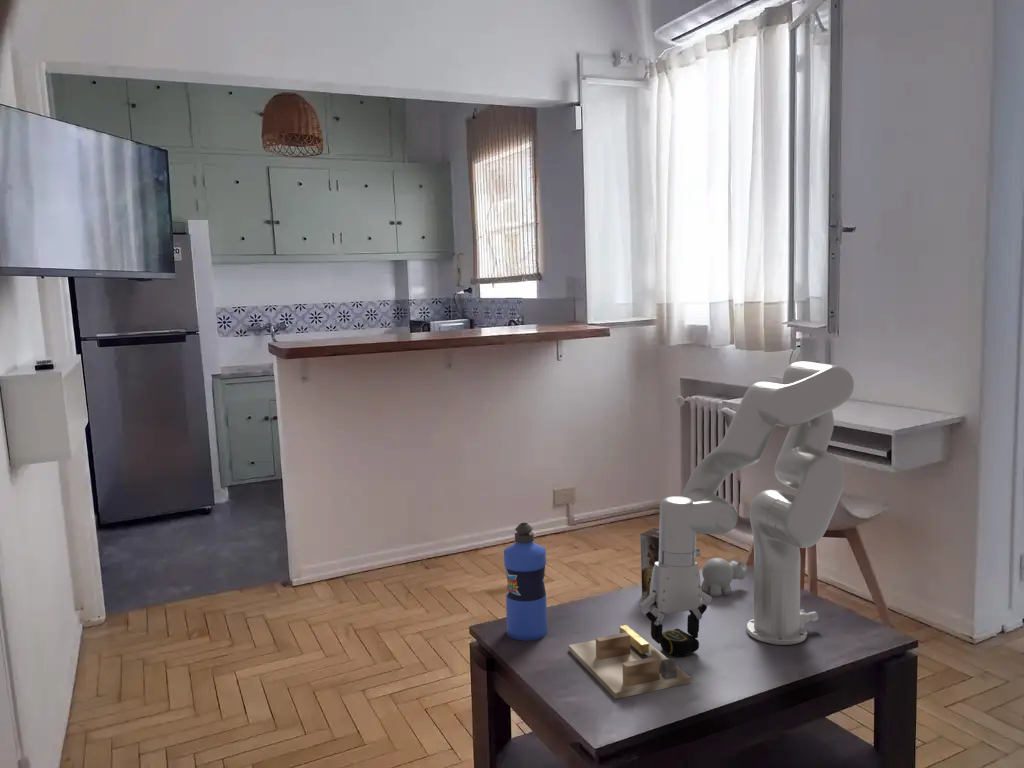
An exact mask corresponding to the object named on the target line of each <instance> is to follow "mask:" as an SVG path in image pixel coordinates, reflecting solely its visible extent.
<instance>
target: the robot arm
mask: <svg viewBox="0 0 1024 768" xmlns="http://www.w3.org/2000/svg"><path fill="white" fill-rule="evenodd" d="M854 386H855V382H854V379H853V376H852V375H851V373H850V372H849V370H847V369H846V368H844V367H842V366H840V365H837V364H829V363H821V362H814V361H795V362H793V363H791V364H789V365H788V366H787V367H786V368H785V370H784V372H783V377H782V383H777V382H770V381H758V382H754V383H753V384H751V385H750V386H749V387H748V388H747V389H746V392H745V393H744V395H743V397H742V398H741V401H740V403H739V405H738V407H737V410H736V411H735V414H734V415H733V417H732V419H731V422H730V424H729V426H728V428H727V430H726V433H725V434H724V437H723V438H722V441H721V442H720V444H718V445H717V446H716V447H715V448H713V450H712V451H711V452H710V453H708V454H707V455H705V457H704V458H703V459H702V460H701V461H700V462H699V463H698V464H697V465H696V466H695V468H694V470H693V471H692V473H691V474H690V477H689V478H688V481H687V482H686V485H685V486H684V489H683V491H682V494H681V496H679V495H678V496H677V495H675V496H673V495H672V496H667V497H665V498H663V499H662V500H661V502H659V503H660V504H659V523H658V524H659V526H658V527H659V528H658V529H659V561H658V562H655V564H654V568H653V572H652V577H651V584H650V595H649V596H648V597H645V599H644V600H642V602H640V603H639V605H638V607H639V609H640V610H641V613H643V615H644V616H645V617H646V618H647V620H649V621H650V637H651V639H652V640H653V641H655V642H656V643H657V644H660V645H661V643H662V634H663V628H664V627H663V624H661V623H662V620H663V619H664V617H665V615H666V614H674V613H682V612H687V611H688V612H689V614H688V615H687V623H686V625H687V630H686V631H687V632H686V633H687V634H689V635H691V636H692V637H694V638H696V639H698V638H699V632H700V620H701V619H702V618H703V614H704V613H705V612H706V611H707V609H708V606H709V605H710V603H711V601H712V599H713V598H712V597H713V596H712V595H709V594H708V593H706V592H703V591H702V590H701V585H702V583H701V582H702V581H701V575H700V568H699V564H698V562H697V557H698V556H700V555H701V550H700V549H699V548H697V535H698V534H704V535H713V536H714V535H716V536H717V535H719V536H720V535H725V534H727V533H730V532H731V531H732V530H733V529H734V528H735V527H736V525H737V524H738V519H739V515H738V511H737V509H736V507H735V506H734V505H733V504H732V503H731V502H730V501H728V500H727V499H725V498H722V497H720V496H718V495H716V494H717V492H718V490H719V488H720V487H721V485H722V484H723V482H725V479H726V478H727V477H729V476H730V475H731V474H733V473H734V472H736V471H738V470H741V469H744V468H747V467H749V466H753V465H754V464H756V463H758V462H759V461H760V460H761V458H762V457H763V454H764V452H765V450H766V448H767V445H768V443H769V441H770V439H771V437H772V435H773V433H774V431H775V429H776V428H777V426H779V427H783V428H789V430H788V432H787V434H786V436H785V439H784V441H783V444H782V447H781V449H780V451H779V453H778V456H777V459H776V462H775V464H774V476H775V478H776V480H777V481H779V482H780V483H781V484H782V485H784V486H786V487H788V488H791V489H792V490H796V494H795V495H793V494H791V493H787V492H785V491H782V490H778V489H766V490H762V491H760V492H758V494H756V496H755V497H754V498H753V500H752V501H751V505H750V509H749V519H750V526H751V532H752V538H753V554H754V555H753V556H754V557H753V558H754V559H753V562H754V563H753V619H750V620H749V621H748V622H747V623H746V632H747V634H748V635H749V636H750V637H752V638H753V639H755V640H758V641H759V642H763V643H767V644H771V645H778V646H779V645H780V646H782V645H783V646H787V645H789V646H790V645H795V644H799V643H802V642H804V641H806V639H807V637H808V629H807V628H806V627H805V625H806V624H807V623H808V622H814V621H818V620H819V615H818V613H817V612H816V611H810V612H806V611H805V609H801V550H800V548H801V549H805V548H806V549H807V548H811V547H813V546H815V545H816V544H818V543H819V542H820V540H821V539H822V538H823V536H824V535H825V533H826V532H827V529H828V527H829V525H830V523H831V519H832V517H833V515H834V512H835V510H836V509H837V505H838V503H839V501H840V498H841V496H842V493H843V492H844V491H843V490H844V487H845V485H846V471H845V470H846V469H845V466H844V464H843V463H842V461H841V459H840V458H839V457H838V456H837V455H834V454H833V453H831V452H829V451H827V449H828V447H829V444H830V441H831V438H832V435H833V432H834V429H835V428H834V427H835V426H834V425H835V422H834V421H835V419H834V413H833V410H834V409H837V408H840V406H842V405H844V404H845V403H846V402H847V401H848V400H849V399H850V398H851V396H852V394H853V391H854ZM650 607H652V608H653V609H652V611H651V610H650Z"/></svg>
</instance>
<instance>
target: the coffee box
mask: <svg viewBox="0 0 1024 768" xmlns="http://www.w3.org/2000/svg"><path fill="white" fill-rule="evenodd" d="M639 536H640V567H641V568H640V569H641V570H640V571H641V573H640V574H641V597H644V598H647V597H648V596H649V595H650V584H651V577H652V572H653V568H654V564H655V562H658V561H659V528H658V527H657V528H656V527H654V528H651V529H648V530H646V531H645V532H642V533H640V535H639Z"/></svg>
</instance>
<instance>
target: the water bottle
mask: <svg viewBox="0 0 1024 768" xmlns="http://www.w3.org/2000/svg"><path fill="white" fill-rule="evenodd" d="M533 529H534V528H533V527H532V526H531V525H530V524H529V523H527V522H521V523H519V524H518V525H517V526H516V528H515V531H516V532H515V533H514V542H515V543H513V544H510V546H507V547H505V548H504V549H503V565H504V566H503V567H504V570H505V575H506V582H507V583H506V594H505V603H506V604H505V608H506V611H505V612H506V613H505V614H506V635H507V636H508V637H509V638H510V637H511V639H512V638H513V639H512V640H515V639H517V640H516V641H519V640H523V641H522V642H531V641H532V642H533V641H538V640H541V639H542V638H545V636H547V634H548V616H547V615H548V614H547V613H548V611H547V591H546V585H545V572H546V565H547V556H546V555H547V553H546V552H547V550H546V548H545V547H544V546H542V545H540V544H538V543H535V542H534V541H535V534H534V531H533ZM532 531H533V532H532Z"/></svg>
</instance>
